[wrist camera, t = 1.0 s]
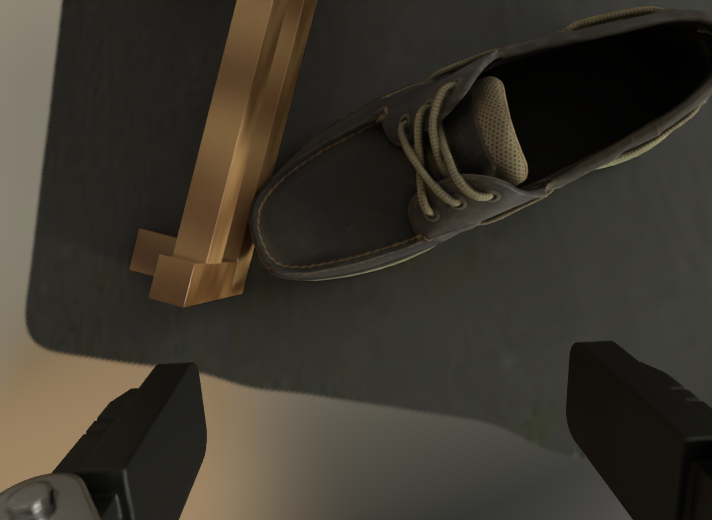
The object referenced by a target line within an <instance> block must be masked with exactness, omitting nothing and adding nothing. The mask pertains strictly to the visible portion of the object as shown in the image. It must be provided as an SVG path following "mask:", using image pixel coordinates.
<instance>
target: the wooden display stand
mask: <svg viewBox="0 0 712 520" xmlns="http://www.w3.org/2000/svg"><path fill="white" fill-rule="evenodd" d="M316 4H317V0H237V2H236V6H235V10H234V14H233V18H232V22H231V26H230V30H229V33H228V37H227V41H226V45H225V49H224V53H223V57H222V61H221V65H220V69H219V73H218V77H217V81H216V85H215V89H214V93H213V97H212V101H211V105H210V109H209V113H208V117H207V121H206V125H205V129H204V133H203V137H202V141H201V145H200V149H199V153H198V157H197V161H196V165H195V169H194V173H193V177H192V181H191V185H190V189H189V193H188V196H187V200H186V204H185V208H184V212H183V216H182V220H181V224H180V228H179V232H178V236H177V237H175V236H171V235H167V234H164V233H160V232H156V231H153V230H149V229H141V228H140V229H139V232H138V236H137V240H136V244H135V248H134V252H133V256H132V260H131V264H130V268H129V269H130V270H133V271H136V272H140V273H144V274H147V275H151V276H154V278H153V282H152V286H151V290H150V294H149V298H150V299H154V300H158V301H161V302H165V303H168V304H172V305H175V306H179V307H182V308H184V307H189V306H193V305H197V304H201V303H205V302H209V301H214V300H218V299H222V298H226V297H230V296H234V295H239V294H242V293H243V289H244V285H245V282H246V278H247V274H248V270H249V266H250V262H251V258H252V254H253V250H254V244H253V241H252V237H251V233H250V229H249V224H248V215H249V211H250V208H251V206H252V204H253V201H254V200H255V198H256V196H257V195H258V193H259V192H260V191H261V189H262V188H263V187H264V185H265V184H266V183H267V182H268V181H269V179H270V178H271V177H272V176H273V172H274V168H275V164H276V160H277V156H278V152H279V148H280V145H281V141H282V137H283V133H284V129H285V125H286V121H287V117H288V113H289V109H290V106H291V102H292V98H293V94H294V90H295V86H296V82H297V78H298V74H299V70H300V67H301V63H302V59H303V55H304V51H305V47H306V43H307V39H308V35H309V31H310V28H311V24H312V20H313V16H314V12H315V8H316Z"/></svg>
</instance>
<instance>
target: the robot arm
mask: <svg viewBox="0 0 712 520" xmlns="http://www.w3.org/2000/svg"><path fill="white" fill-rule="evenodd" d="M566 416H567V423H568V427H569V430H570V433H571V435H572V437H573V439H574V440H575V442H576V443H577V444H578V446H579V447H580V448H581V450H582V451H583V452H584V454H585V455H586V457H587V458H588V459H589V461H590V462H591V463H592V465H593V466H594V467H595V469H596V470H597V471H598V473H599V474H600V476H601V477H602V478H603V480H604V481H605V482H606V484H607V485H608V486H609V488H610V489H611V490H612V492H613V493H614V495H615V496H616V497H617V498H618V500H619V501H620V503H621V504H622V505H623V507H624V508H625V509H626V511H627V512H628V514H629V515H630V516H631V518H632V519H633V520H712V408H711V407H709V406H708V405H707V404H706V403H704V402H703V401H699V398H698V397H696V396H695V395H694V394H693V393H691V392H690V391H689V390H684V387H683V386H682V385H681V384H680V383H678V382H677V381H676V380H674V379H673V378H672V377H670V376H669V375H668V374H666V373H665V372H662V371H660V370H658V369H656V368H653V367H651V366H649V365H647V364H644V363H642V362H639V361H637V360H636V359H635V358H634V357H632V356H631V355H630V354H629V353H627V352H626V351H625V350H624V349H622V348H621V347H620V346H619V345H617V344H616V343H615V342H613V341H597V342H578V343H574V344H573V346H572V348H571V351H570V358H569V373H568V388H567V403H566ZM206 430H207V429H206V422H205V414H204V407H203V399H202V392H201V384H200V377H199V371H198V368H197V365H196V364H195V363H194V362H190V363H171V364H158V365H156V366H155V368H154V369H153V370H152V372H151V373H150V374H149V376H148V377H147V378H146V379H145V381H144V382H143V383H142V385H141V386H140V387H139V388H135V389H130V390H128V391H127V392H125V393H124V394H122V395H121V396H119V397H118V398H116V399H115V400H113V401H111V402H110V403H109V404H108V406H107V407H106V408H105V409H104V410H103V412H102V413H101V414H100V415H99V417H98V418H97V421H94V422H93V424H92V425H91V426H90V427H89V428H88V430H87V431H86V432H87V433H86V434H84V435H83V436H82V437H81V438H80V439H79V441H78V442H77V443H76V444H75V445H74V447H73V448H72V449H71V450H70V452H69V453H68V454H67V455H66V456H65V457H64V459H63V460H62V461H61V462H60V464H59V465H58V466H57V467H56V469H55V470H54V471H53V472H52V473H50V474H45V475H40V476H37V477H34V478H30V479H28V480H25V481H22V482H20V483H18V484H15V485H14V486H12V487H10V488H8V489H6V490H4V491H3V492H1V493H0V520H179V518H180V515H181V513H182V511H183V508H184V506H185V503H186V501H187V498H188V496H189V493H190V491H191V488H192V486H193V484H194V481H195V479H196V476H197V474H198V472H199V469H200V467H201V464H202V462H203V459H204V456H205V451H206V442H207V431H206Z"/></svg>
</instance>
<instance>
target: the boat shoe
mask: <svg viewBox="0 0 712 520" xmlns="http://www.w3.org/2000/svg"><path fill="white" fill-rule="evenodd" d="M711 95H712V14H710V13H707V12H703V11H697V10H675V9H666V10H665V9H663V8H661V7H657V6H644V7H636V8H630V9H624V10H619V11H614V12H610V13H605V14H601V15H597V16H593V17H589V18H585V19H582V20H579V21H576V22H574V23H572V24H570V25H568V26H567V27H566V28H564V29H563V30H562V31H557V32H555V33H552V34H549V35H546V36H542V37H539V38H535V39H531V40H527V41H524V42H520V43H516V44H511V45H508V46H505V47H503V48H497V49H493V50H489V51H486V52H483V53H480V54H477V55H475V56H473V57H470V58H468V59H465V60H462V61H460V62H457V63H454V64H452V65H449V66H446V67H444V68H442V69H440V70H438V71H436V72H435V73H433V74H432V75H431V76H430V77H429V78H428V79H427V80H424V81H420V82H417V83H414V84H411V85H408V86H406V87H403V88H400V89H398V90H395V91H393V92H390V93H388V94H386V95H384V96H382V97H379V98H376V99H375V100H373V101H371V102H369V103H368V104H366V105H364V106H362V107H360V108H358V109H356V110H355V111H353V112H351V113H349V114H348V115H346V116H344V117H343V118H341V119H340V120H338V121H337V122H335V123H333V124H332V125H330V126H329V127H327V128H326V129H325V130H323V131H322V132H320V133H319V134H318V135H316V136H315V137H314V138H312V139H311V140H310V141H309V142H307V143H306V144H305V145H304V146H303V147H302V148H301V149H300V150H299V151H298V152H297V153H296V154H295V155H293V156H292V157H291V158H290V159H289V160H288V161H287V162H286V163H285V164H284V165H283V166H282V167H281V168H280V169H279V170H278V171H277V172H276V173H275V174H274V175H273V176H272V177H271V178H270V179H269V181H268V182H267V183H266V184H265V185H264V187H263V188H262V189H261V191H260V192H259V193H258V195H257V196H256V198H255V200H254V201H253V204H252V206H251V208H250V211H249V215H248V224H249V229H250V233H251V237H252V241H253V244H254V247H255V249H256V252H257V255H258V258H259V260H260V262H261V264H262V265H263V267H264V268H265V269H266V270H267V271H268V272H270V273H271V274H272V275H274V276H276V277H279V278H282V279H287V280H301V281H317V280H328V279H335V278H343V277H349V276H354V275H359V274H364V273H368V272H372V271H376V270H379V269H383V268H386V267H389V266H392V265H395V264H398V263H401V262H404V261H406V260H408V259H411V258H413V257H415V256H417V255H419V254H422V253H424V252H426V251H427V250H429V249H431V248H433V247H435V246H436V245H438V244H440V243H442V242H443V241H446V240H448V239H450V238H452V237H454V236H455V235H457V234H458V233H460V232H463V231H466V230H469V229H473V228H474V227H476V226H477V225H486V224H490V223H493V222H496V221H498V220H500V219H503V218H505V217H507V216H509V215H511V214H513V213H515V212H517V211H519V210H521V209H523V208H525V207H527V206H529V205H531V204H533V203H536V202H538V201H540V200H541V199H543V198H546V197H547V196H548V195H549V194H551V193H552V192H553V190H554V189H558V188H561V187H562V186H564V185H566V184H568V183H570V182H572V181H574V180H576V179H578V178H580V177H582V176H583V175H585V174H587V173H589V172H591V171H593V170H596V169H601V168H605V167H609V166H613V165H616V164H619V163H622V162H624V161H627V160H629V159H632V158H634V157H636V156H638V155H640V154H642V153H644V152H646V151H648V150H649V149H651V148H652V147H654V146H655V145H657V144H658V143H660V142H661V141H662V140H663V139H664V138H666V137H667V136H668V135H669V134H670V133H671V132H672V131H674V130H675V129H677V128H678V127H680V126H681V125H682V124H684V123H685V122H687V121H688V120H689V119H691V118H692V117H693V116H694V115H695V114H696V113H697V112H698V110H699V109H700V108H701V107H702V106H703V105H704V104H705V103H706V101H707V100H708V98H709V97H710V96H711Z"/></svg>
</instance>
